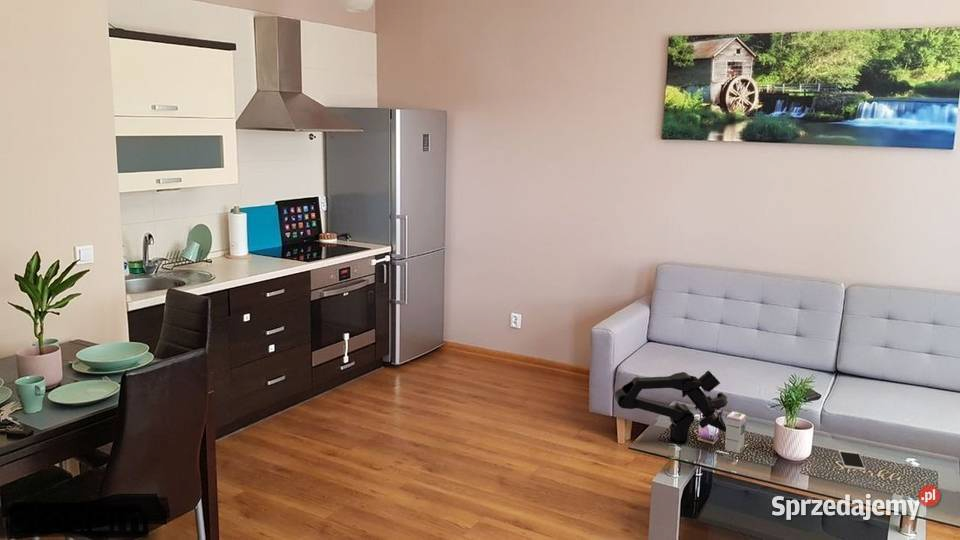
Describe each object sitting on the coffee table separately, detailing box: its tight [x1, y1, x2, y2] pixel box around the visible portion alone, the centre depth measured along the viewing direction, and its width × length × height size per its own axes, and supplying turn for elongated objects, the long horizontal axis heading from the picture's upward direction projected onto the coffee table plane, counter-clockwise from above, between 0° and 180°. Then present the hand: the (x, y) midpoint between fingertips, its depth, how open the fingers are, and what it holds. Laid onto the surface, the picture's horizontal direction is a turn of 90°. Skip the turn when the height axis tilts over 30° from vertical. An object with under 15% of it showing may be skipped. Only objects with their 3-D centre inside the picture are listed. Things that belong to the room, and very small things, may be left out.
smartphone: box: [838, 449, 866, 471], centre depth 287 cm, size 7×16×1 cm, turn 163°
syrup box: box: [724, 411, 747, 454], centre depth 294 cm, size 6×6×14 cm
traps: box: [721, 453, 736, 462], centre depth 294 cm, size 6×23×1 cm, turn 124°
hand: (726, 431), depth 297 cm, fingers closed
